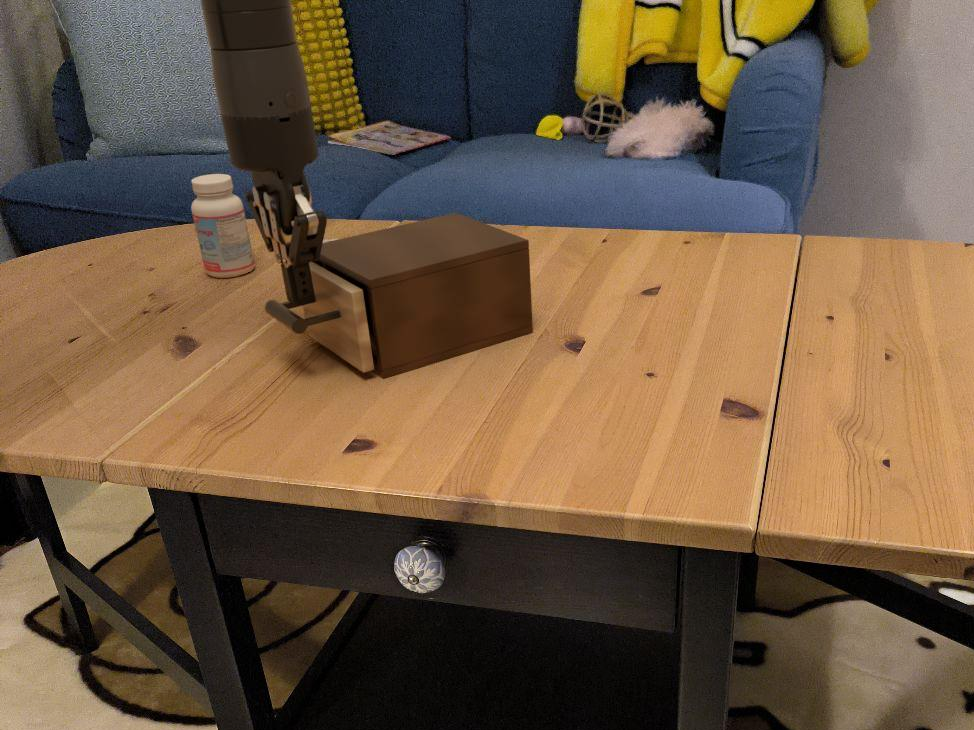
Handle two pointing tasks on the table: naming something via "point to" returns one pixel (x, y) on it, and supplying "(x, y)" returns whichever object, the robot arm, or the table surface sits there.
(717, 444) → the table surface
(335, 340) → the drawer
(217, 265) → the pill bottle
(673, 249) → the table surface
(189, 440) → the table surface
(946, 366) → the table surface
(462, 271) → the cabinet
